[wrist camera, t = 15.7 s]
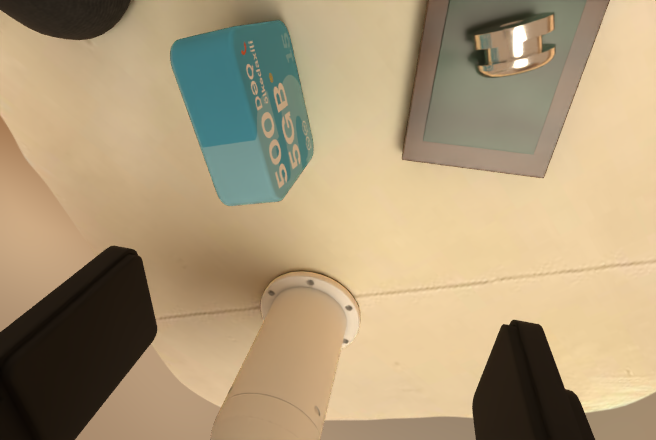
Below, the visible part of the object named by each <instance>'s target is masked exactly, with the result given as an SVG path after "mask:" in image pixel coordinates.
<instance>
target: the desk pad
mask: <svg viewBox="0 0 656 440" xmlns="http://www.w3.org/2000/svg"><path fill="white" fill-rule="evenodd" d="M609 1H610V0H428V2H427V8H426V14H425V20H424V26H423V32H422V38H421V44H420V51H419V57H418V63H417V69H416V75H415V81H414V87H413V93H412V99H411V105H410V111H409V117H408V123H407V129H406V135H405V141H404V147H403V154H402V160H408V161H416V162H424V163H431V164H439V165H446V166H454V167H462V168H469V169H477V170H485V171H492V172H500V173H507V174H515V175H523V176H530V177H538V178H544V176H545V173H546V171H547V168H548V165H549V163H550V160H551V157H552V155H553V152H554V149H555V147H556V144H557V141H558V138H559V136H560V133H561V130H562V128H563V125H564V122H565V120H566V117H567V114H568V111H569V109H570V106H571V103H572V101H573V98H574V95H575V93H576V90H577V87H578V85H579V82H580V79H581V76H582V74H583V71H584V68H585V66H586V63H587V60H588V58H589V55H590V52H591V49H592V47H593V44H594V41H595V39H596V36H597V33H598V31H599V28H600V25H601V23H602V20H603V17H604V14H605V12H606V9H607V6H608V4H609ZM546 12H554V13H555V29H554V30H553V31H551V32H549V33H547V34H544V35H543V44H546V43H550V44H555V45H556V53H555V56H554V58H553V59H552V60H551V61H550V62H549V63H548V64H546V65H545V66H543V67H540V68H538V69H535V70H533V71H529V72H526V73H522V74H518V75H513V76H508V77H501V78H484V77H481V76H479V75H478V74H477V73H476V70H475V62H477V61H478V60H480V59H482V58H484V57H485V55H484V49H483V50H474V49H473V46H472V37H471V34H472V33H474V32H476V31H478V30H481V29H484V28H486V27H489V26H493V25H496V24H499V23H502V22H506V21H510V20H513V19H517V18H521V17H525V16H530V15H535V14H540V13H546Z"/></svg>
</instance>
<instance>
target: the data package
mask: <svg viewBox="0 0 656 440" xmlns="http://www.w3.org/2000/svg"><path fill="white" fill-rule="evenodd" d="M170 60H171V66H172V69H173V72H174V75H175V78H176V80H177V83H178V86H179V89H180V92H181V94H182V97H183V100H184V103H185V106H186V108H187V111H188V114H189V117H190V120H191V122H192V125H193V128H194V131H195V134H196V136H197V139H198V142H199V145H200V147H201V150H202V153H203V156H204V159H205V161H206V164H207V167H208V170H209V173H210V175H211V178H212V181H213V184H214V187H215V189H216V192H217V195H218V197H219V199H220V200H221V201H222V202H223V203H224V204H225V205H227V206H236V205H246V204H257V203H267V202H278V201H281V200H282V199H283V198H284V197H285V195H286V194H287V193H288V191H289V190H290V188H291V187H292V185H293V184H294V183H295V181H296V180H297V178H298V177H299V175H300V174H301V173H302V171H303V170H304V168H305V167H306V165H307V164H308V163H309V161H310V160H311V158H312V156H313V139H312V134H311V130H310V125H309V121H308V116H307V112H306V107H305V103H304V98H303V93H302V89H301V84H300V80H299V75H298V71H297V66H296V62H295V57H294V53H293V48H292V44H291V39H290V36H289V33H288V30H287V28H286V26H285V24H284V23H283V22H282V21H280V20H276V21H269V22H262V23H255V24H248V25H240V26H233V27H229V28H225V29H221V30H216V31H212V32H208V33H204V34H199V35H195V36H191V37H187V38H183V39H179V40H176V41H175V42H174V43H173V45H172V47H171V51H170Z"/></svg>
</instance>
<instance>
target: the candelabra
mask: <svg viewBox="0 0 656 440" xmlns="http://www.w3.org/2000/svg"><path fill="white" fill-rule="evenodd" d="M129 3H130V0H0V10H1V11H3V12H4V13H6V14H7V15H9V16H10V17H12V18H13V19H15V20H17V21H18V22H20V23H21V24H23V25H25V26H26V27H28V28H30V29H32V30H34V31H37V32H39V33H41V34H45V35H49V36H52V37H57V38H63V39H72V40H84V39H91V38H94V37H97V36H99V35H102V34H103V33H105V32H107V31H108V30H110V29H111V28H112V27H113V26H114V25H115V24H116V23H117V22H118V21H119V20H120V19H121V17H122V16H123V14H124V13H125V11H126V9H127V8H128V5H129Z"/></svg>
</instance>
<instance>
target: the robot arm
mask: <svg viewBox="0 0 656 440" xmlns="http://www.w3.org/2000/svg"><path fill="white" fill-rule="evenodd" d="M260 308H261V314H262V318H263V320H264V322H263V324H262V326H261V328H260V330H259V332H258V334H257V336H256V338H255V340H254V342H253V344H252V346H251V348H250V350H249V352H248V354H247V356H246V358H245V360H244V362H243V364H242V366H241V368H240V370H239V372H238V374H237V376H236V378H235V380H234V382H233V384H232V386H231V388H230V390H229V392H228V394H227V397H226V399H225V401H224V403H223V405H222V407H221V409H220V411H219V413H218V415H217V417H216V419H215V422H214V425H213V429H212V432H211V439H210V440H320V437H321V433H322V429H323V425H324V420H325V416H326V412H327V407H328V403H329V399H330V395H331V390H332V386H333V382H334V377H335V373H336V369H337V365H338V360H339V356H340V352H341V349H343V348H345V347H347V346H348V345H349V344H350V343H351V342H352V341H353V340H354V339H355V337H356V336H357V334H358V331H359V327H360V320H361V317H360V310H359V307H358V305H357V302H356V301H355V299H354V298H353V296H352V295H351V294H350V293H349V292H348V290H347V289H346V288H344V287H343V286H342V285H341V284H339V283H338V282H336V281H334V280H333V279H331V278H329V277H326V276H324V275H321V274H317V273H313V272H303V271H298V272H290V273H287V274H283V275H281V276H279V277H277V278H275V279H274V280H273V281H272V282H271V283H270V284H269V285H268V286H267V288H266V289H265V291H264V293H263V295H262V298H261V303H260ZM156 333H157V324H156V319H155V315H154V310H153V306H152V302H151V297H150V293H149V288H148V284H147V279H146V275H145V270H144V266H143V261H142V258H141V257H140V256H138V254H137V252H136V251H135V250H133V249H129V248H124V247H118V246H110V247H109V248H107V249H106V250H104V251H103V252H102V253H101V254H99V255H98V256H97V257H95V258H94V259H93V260H92V261H90V262H89V263H88V264H87V265H85V266H84V267H83V268H82V269H80V270H79V271H78V272H76V273H75V274H74V275H73V276H71V277H70V278H69V279H68V280H66V281H65V282H64V283H63V284H61V285H60V286H59V287H57V288H56V289H55V290H54V291H52V292H51V293H50V294H48V295H47V296H46V297H45V298H43V299H42V300H41V301H40V302H38V303H37V304H36V305H35V306H33V307H32V308H31V309H29V310H28V311H27V312H26V313H24V314H23V315H22V316H20V317H19V318H18V319H17V320H15V321H14V322H13V323H12V324H10V325H9V326H8V327H7V328H5V329H4V330H3V331H1V332H0V440H75V439H76V438H77V436H78V435H79V434H80V432H81V431H82V430H83V429H84V427H85V426H86V425H87V424H88V422H89V421H90V420H91V418H92V417H93V416H94V415H95V413H96V412H97V411H98V410H99V408H100V407H101V406H102V405H103V403H104V402H105V401H106V399H107V398H108V397H109V396H110V395H111V393H112V392H113V391H114V390H115V388H116V387H117V386H118V384H119V383H120V382H121V381H122V379H123V378H124V377H125V376H126V374H127V373H128V372H129V371H130V369H131V368H132V367H133V366H134V364H135V363H136V362H137V360H138V359H139V358H140V357H141V355H142V354H143V353H144V352H145V350H146V349H147V348H148V347H149V345H150V344H151V343H152V341H153V340H154V338H155V336H156ZM472 409H473V419H474V427H475V435H476V440H595V438H594V436H593V433H592V431H591V428H590V425H589V423H588V420H587V418H586V415H585V413H584V410H583V408H582V405H581V403H580V401H579V399H578V397H577V395H576V394H575V393H574V392H573V391H570V390H566V389H565V388H564V385H563V382H562V380H561V377H560V374H559V371H558V369H557V366H556V363H555V361H554V358H553V355H552V352H551V350H550V347H549V344H548V341H547V339H546V336H545V333H544V331H543V328H542V326H540V325H539V324H534V323H529V322H523V321H518V320H512V321H511V323H510V324H509V325H505V324H503V325H502V326H501V328H500V331H499V333H498V336H497V338H496V341H495V344H494V346H493V349H492V351H491V354H490V356H489V359H488V361H487V364H486V366H485V369H484V371H483V374H482V377H481V379H480V382H479V384H478V387H477V389H476V392H475V394H474V398H473V406H472Z"/></svg>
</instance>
